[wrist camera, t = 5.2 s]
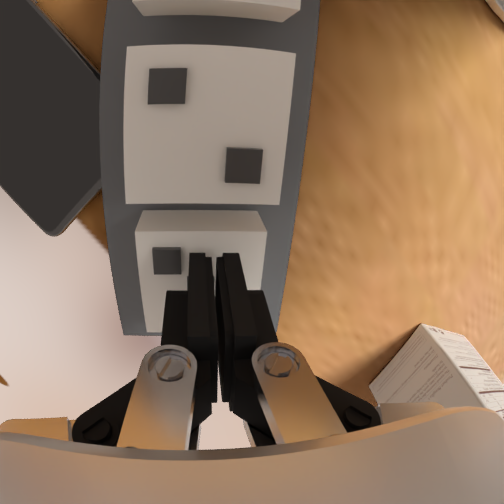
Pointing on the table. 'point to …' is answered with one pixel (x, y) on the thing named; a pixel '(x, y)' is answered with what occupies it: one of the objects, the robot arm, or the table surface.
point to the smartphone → (47, 118)
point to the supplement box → (439, 373)
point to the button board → (127, 215)
